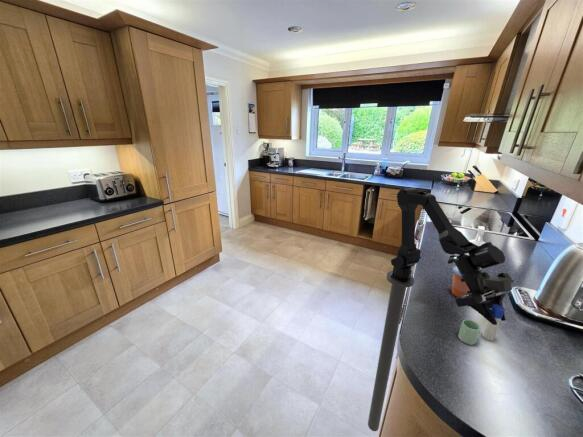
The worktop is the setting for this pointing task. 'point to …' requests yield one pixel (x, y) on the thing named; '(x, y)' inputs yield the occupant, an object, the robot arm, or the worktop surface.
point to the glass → (469, 331)
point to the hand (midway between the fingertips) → (499, 322)
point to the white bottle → (478, 237)
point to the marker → (490, 328)
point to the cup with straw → (458, 284)
